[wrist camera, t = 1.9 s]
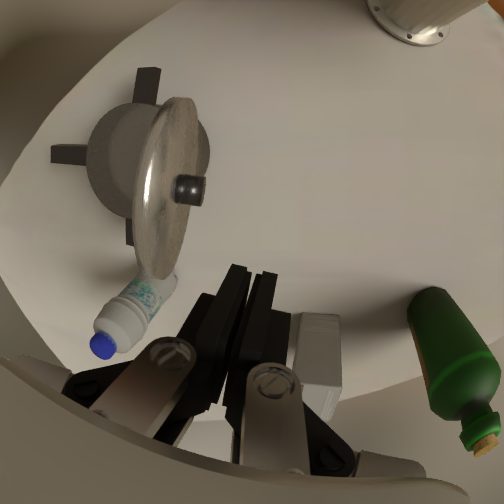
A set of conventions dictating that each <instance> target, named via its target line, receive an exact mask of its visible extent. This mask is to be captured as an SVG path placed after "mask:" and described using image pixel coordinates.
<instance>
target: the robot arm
mask: <svg viewBox="0 0 504 504" xmlns="http://www.w3.org/2000/svg"><path fill="white" fill-rule="evenodd" d="M366 1H367V5H368V8H369V10H370V12H371V13H372V15H373V17H374V18H375V19H376V21H377V22H378V23H379V24H380V25H381V26H382V27H383V28H384V29H385V30H386V31H388V32H389V33H390V34H392V35H393V36H395V37H396V38H398V39H400V40H402V41H404V42H406V43H409V44H412V45H416V46H423V47H426V46H433V45H436V44H438V43H440V42H442V41H443V40H444V39H445V38H446V37H447V35H448V33H449V29H450V23H451V22H452V21H454V20H456V19H457V18H459V17H461V16H462V15H464V14H466V13H468V12H469V11H471V10H473V9H475V8H476V7H478V6H480V5H482V4H484V3H485V2H487V1H489V0H366ZM375 10H377V11H375ZM407 37H408V38H407ZM251 275H252V272H248V271H247V267H244V266H240V265H235V264H232V265H231V267H230V269H229V271H228V273H227V275H226V277H225V279H224V281H223V283H222V284H221V286H220V288H219V290H218V292H217V294H216V296H215V295H211V294H207V293H202V294H201V295H200V297H199V298H198V300H197V302H196V304H195V305H194V307H193V309H192V310H191V312H190V314H189V315H188V317H187V319H186V321H185V322H184V324H183V326H182V327H181V329H180V331H179V333H178V334H177V336H176V337H169V336H168V337H160V338H158V339H155V340H153V341H152V342H151V343H149V344H148V345H147V346H146V347H145V348H144V350H143V351H142V352H141V353H140V354H139V355H138V356H137V357H136V358H135V359H134V360H131V361H127V362H123V363H119V364H114V365H110V366H106V367H101V368H96V369H92V370H87V371H82V372H79V373H77V374H73V373H72V371H71V370H69V369H66V368H63V367H59V366H56V365H52V364H50V363H47V362H44V361H41V360H38V359H35V358H32V357H30V356H25V355H20V356H17V357H15V358H13V359H11V361H10V360H8V359H6V358H5V357H3V356H1V355H0V504H473V502H472V500H471V498H470V496H469V495H468V493H467V492H466V491H465V490H464V489H462V488H461V487H459V486H457V485H454V484H452V483H449V482H445V481H442V480H437V479H432V478H426V471H425V469H424V467H423V466H422V465H421V464H420V463H418V462H416V461H413V460H408V459H403V458H397V457H392V456H387V455H382V454H377V453H373V452H369V451H364V450H361V451H360V452H356V451H353V450H352V449H351V448H350V446H349V445H348V444H347V443H346V442H345V441H344V440H343V439H341V438H340V437H339V436H338V435H337V434H336V433H335V432H334V431H333V430H332V429H331V428H330V427H329V426H328V425H327V424H326V423H325V422H324V421H323V420H322V419H321V418H320V417H319V416H318V415H317V414H316V413H315V412H314V411H313V410H312V409H310V408H309V407H308V406H307V404H306V403H305V402H304V401H303V399H302V390H301V383H300V380H299V378H298V376H297V375H296V374H295V372H293V371H292V370H291V369H290V368H288V367H286V359H287V350H288V340H289V331H290V321H291V313H286V312H282V311H277V310H273V309H271V307H272V302H273V297H274V292H275V287H276V281H277V276H278V274H274V273H270V272H266V271H263V273H262V275H261V274H256V276H255V279H254V282H253V286H252V289H251V292H250V295H249V298H248V301H247V296H248V291H249V286H250V280H251ZM246 301H247V304H246ZM245 306H246V307H245ZM227 373H228V375H227ZM226 376H227V380H226V386H225V392H224V397H223V403H222V406H226V407H227V409H226V414H225V418H226V420H227V421H228V422H229V424H230V425H231V426H232V428H233V433H232V444H231V458H230V462H225V461H221V460H217V459H213V458H210V457H206V456H202V455H199V454H196V453H192V452H189V451H186V450H183V449H180V448H177V446H178V444H179V442H180V441H181V439H182V438H183V436H184V434H185V433H186V431H187V430H188V428H189V426H190V425H191V423H192V421H193V419H194V416H196V415H198V414H201V413H203V412H205V410H208V411H209V408H210V405H211V403H215V404H217V403H218V400H219V397H220V394H221V391H222V388H223V385H224V382H225V379H226Z"/></svg>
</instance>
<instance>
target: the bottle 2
mask: <svg viewBox="0 0 504 504" xmlns="http://www.w3.org/2000/svg"><path fill="white" fill-rule="evenodd" d="M407 319H408V323H409V326H410V330H411V333H412V336H413V340H414V343H415V346H416V350H417V354H418V357H419V361H420V365H421V369H422V373H423V377H424V380H425V385H426V390H427V394H428V399H429V403H430V409H431V410H432V411H433V412H434V413H435V414H436V415H438V416H439V417H441V418H442V419H444V420H448V421H450V420H451V421H458V420H461V424H462V430H463V431H462V432H461V434H460V436H459V437H460V439H461V441H462V443H463V444H464V447H465V448H466V450H467V451H468V452H469V451H474V457H479V456H481V455H483V454H486V453H487V452H489V451H490V450H492V449H493V448H494V447H496V446H497V445H498V443H499V441H498V440H497V438H496V437H497V436H498V435H499V434H500V432H501V424H500V415H499V413H498V412H493V411H492V409H491V407H490V405H489V402H490V401H491V399H492V398H493V396H494V394H495V392H496V390H497V388H498V385H499V383H500V377H501V369H500V367H499V364H498V362H497V361H496V359H495V357H494V356H493V354H492V353H491V351H490V350H489V348H488V347H487V345H486V344H485V342H484V341H483V339H482V338H481V336H480V335H479V334H478V332H477V331H476V329H475V328H474V327H473V325H472V324H471V322H470V321H469V320H468V318H467V317H466V316H465V314H464V313H463V312H462V310H461V309H460V308H459V307H458V305H457V304H456V303H455V301H454V300H453V299H452V298H451V296H450V295H449V294H448V293H447V291H446V290H445V289H441V288H437V287H433V288H430V289H427V290H423V291H422V292H421V293H420V294H419V295H417V296H416V297H415V298H414V299H413V300H412V302H411V304H410V306H409V308H408V310H407Z"/></svg>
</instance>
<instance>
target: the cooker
mask: <svg viewBox="0 0 504 504" xmlns="http://www.w3.org/2000/svg"><path fill="white" fill-rule="evenodd" d="M160 74H161V69H160V68H157V67H144V68H138V70H137V75H136V82H135V88H134V95H133V102H132V103H128V104H123V105H120V106H118V107H116V108H114V109H112V110H110V111H109V112H108V113H107V114H105V115H104V116H103V117H102V118H101V119H100V121H99V122H98V123H97V125H96V126H95V128H94V130H93V132H92V134H91V137H90V139H89V143H88V145H79V144H57V145H52V146H51V163H60V164H72V165H82V166H87V173H88V177H89V181H90V184H91V186H92V188H93V191H94V192H95V194H96V196H97V197H98V199H99V200H100V201H101V202H102V203H103V204H104V206H105V207H107V208H108V209H109V210H110V211H112V212H113V213H115V214H117V215H119V216H121V217H125V218H126V245H130V246H134V242H133V232H132V205H133V193H134V184H135V178H136V172H137V167H138V163H139V158H140V154H141V151H142V147H143V144H144V141H145V138H146V135H147V133H148V130H149V128H150V125H151V123H152V121H153V119H154V117H155V116H156V114H157V112H158V111H159V109H160V108H161V107H162V105H157V104H156V100H157V93H158V86H159V80H160ZM209 158H210V146H209V140H208V137H207V134H206V132H205V129H204V127H203V126H202V124H201V123H200V121H199V120H198V153H197V165H196V174H195V176H203V177H204V175H205V173H206V170H207V167H208V164H209Z"/></svg>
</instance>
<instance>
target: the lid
mask: <svg viewBox="0 0 504 504" xmlns="http://www.w3.org/2000/svg"><path fill="white" fill-rule="evenodd" d="M197 153H198V116H197V110H196V106H195V103H194V102H193V100H192V99H191V98H183V97H172V98H170V99H169V100H167V101H166V102H165V103H164V104H163V105H162V107H161V108H160V109H159V111H158V112H157V114H156V116H155V117H154V119H153V121H152V123H151V125H150V128H149V130H148V133H147V135H146V138H145V141H144V144H143V147H142V151H141V154H140V158H139V163H138V167H137V172H136V178H135V184H134V193H133V205H132V232H133V242H134V249H135V254H136V258H137V261H138V265H139V267H140V269H141V271H142V273H143V274H144V275H145V276H146V277H148V278H153V279H159V280H165V279H166V278H167V277H168V276H169V275H170V274H171V272H172V270H173V268H174V266H175V264H176V262H177V259H178V256H179V253H180V250H181V246H182V243H183V239H184V235H185V231H186V227H187V222H188V217H189V212H190V207H191V205H192V206H200V207H201V206H202V203H203V199H204V194H205V186H206V177H203V176H195V174H196V165H197Z"/></svg>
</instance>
